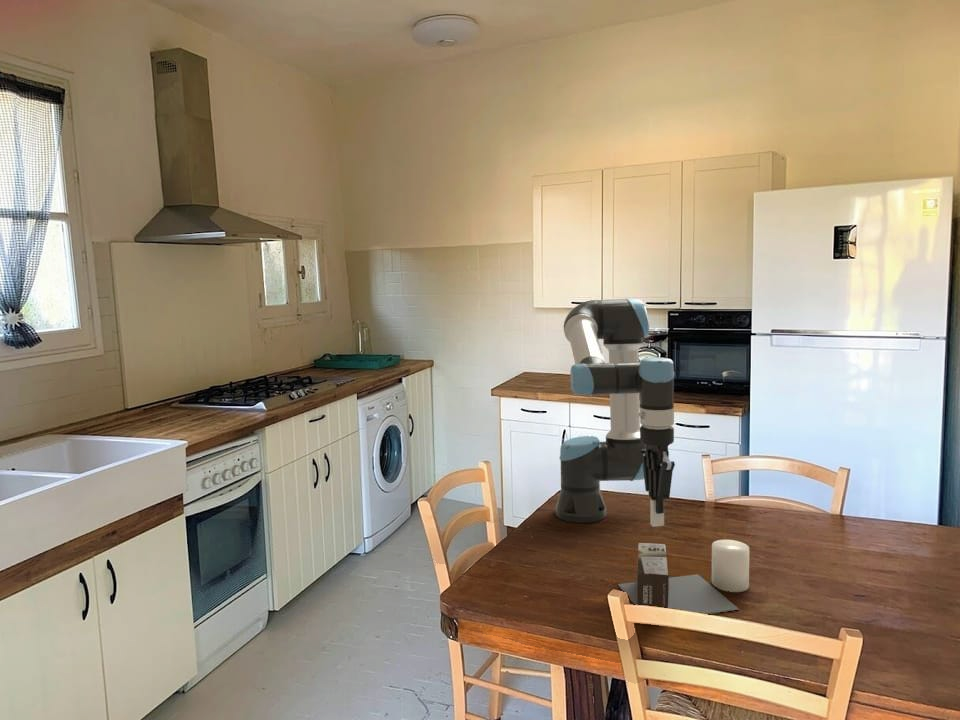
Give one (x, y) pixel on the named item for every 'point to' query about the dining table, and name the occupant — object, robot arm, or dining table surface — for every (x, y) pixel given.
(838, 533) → the dining table surface
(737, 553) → the white rounded cylinder
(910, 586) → the dining table surface
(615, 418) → the robot arm
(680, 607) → the mat
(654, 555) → the coffee box
